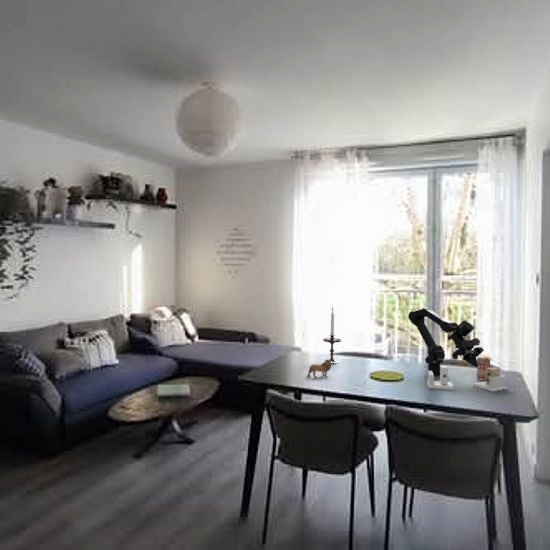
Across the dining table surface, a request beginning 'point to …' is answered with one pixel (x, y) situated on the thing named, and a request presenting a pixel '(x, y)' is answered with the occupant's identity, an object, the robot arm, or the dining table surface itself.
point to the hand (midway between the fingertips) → (477, 366)
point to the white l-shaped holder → (493, 383)
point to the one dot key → (443, 374)
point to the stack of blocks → (482, 365)
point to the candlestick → (332, 337)
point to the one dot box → (437, 383)
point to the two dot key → (491, 373)
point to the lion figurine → (320, 368)
